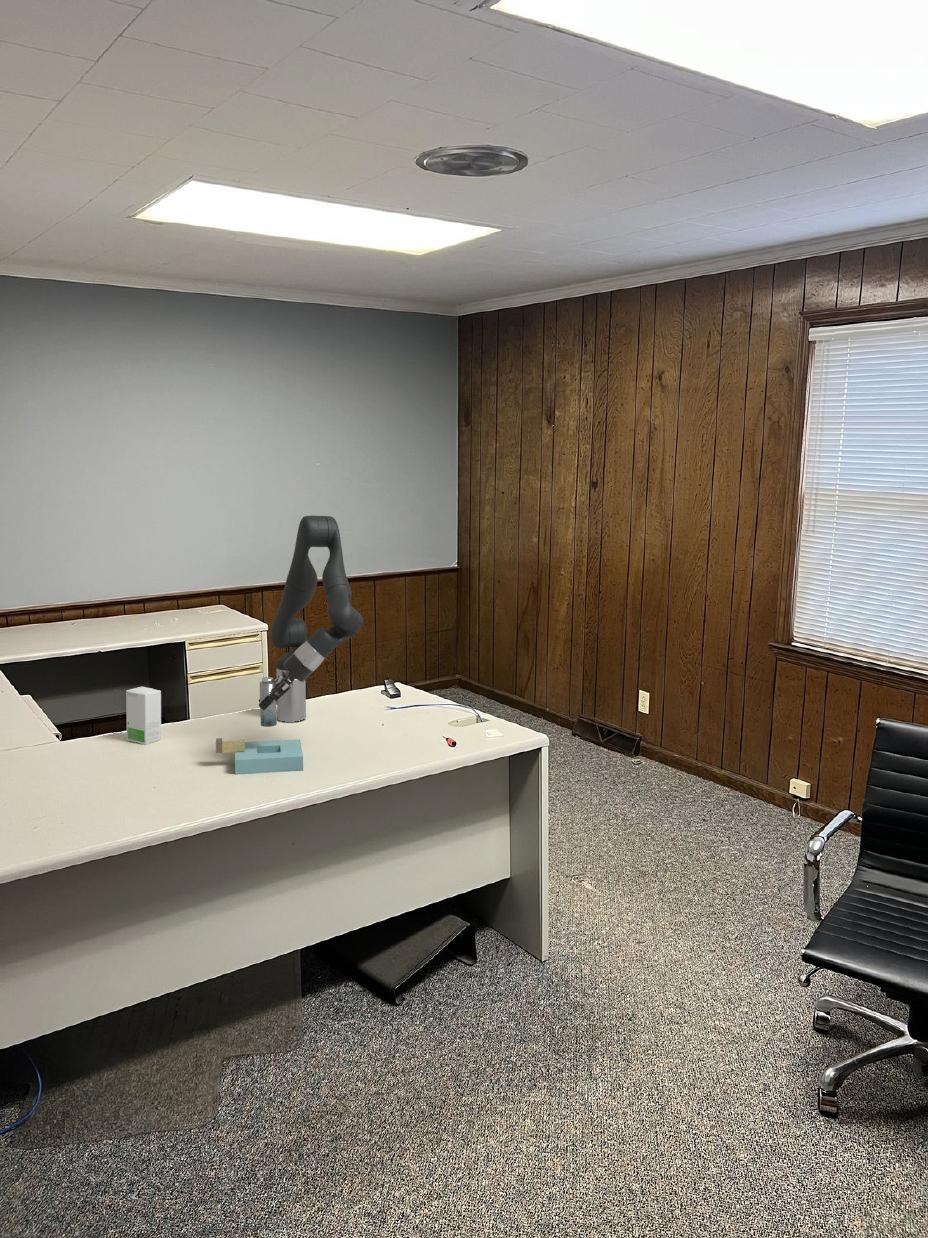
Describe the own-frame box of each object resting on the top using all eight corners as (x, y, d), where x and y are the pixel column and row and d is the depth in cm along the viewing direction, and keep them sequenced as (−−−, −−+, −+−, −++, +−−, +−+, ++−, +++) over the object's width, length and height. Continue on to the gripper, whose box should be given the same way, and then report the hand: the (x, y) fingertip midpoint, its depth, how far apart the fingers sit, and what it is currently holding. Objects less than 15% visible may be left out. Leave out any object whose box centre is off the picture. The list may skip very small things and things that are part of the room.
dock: (236, 755, 259) (236, 742, 258) (300, 752, 263) (300, 739, 262) (235, 774, 243) (235, 760, 243) (303, 770, 248) (303, 756, 247)
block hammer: (216, 749, 251) (216, 738, 250) (244, 748, 253) (244, 737, 252) (216, 753, 248) (215, 741, 247) (244, 751, 249) (244, 740, 249)
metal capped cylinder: (260, 722, 253) (259, 676, 251) (276, 722, 254) (275, 676, 252) (260, 727, 249) (259, 680, 247) (277, 726, 250) (275, 679, 248)
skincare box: (126, 741, 271) (123, 690, 268) (143, 735, 277) (141, 685, 274) (146, 745, 267) (144, 694, 265) (163, 739, 273) (161, 689, 270)
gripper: (293, 647, 257) (250, 690, 256) (295, 657, 243) (250, 703, 242) (312, 664, 259) (270, 707, 258) (316, 675, 245) (271, 721, 244)
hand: (261, 705), depth 250 cm, fingers closed on metal capped cylinder, 4 cm apart
